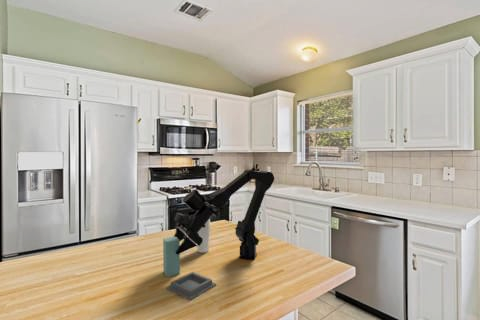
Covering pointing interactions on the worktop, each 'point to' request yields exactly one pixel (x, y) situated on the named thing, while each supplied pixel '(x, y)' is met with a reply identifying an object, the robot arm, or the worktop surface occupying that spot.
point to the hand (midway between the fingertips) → (173, 249)
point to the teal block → (171, 256)
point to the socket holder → (191, 285)
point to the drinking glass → (204, 238)
